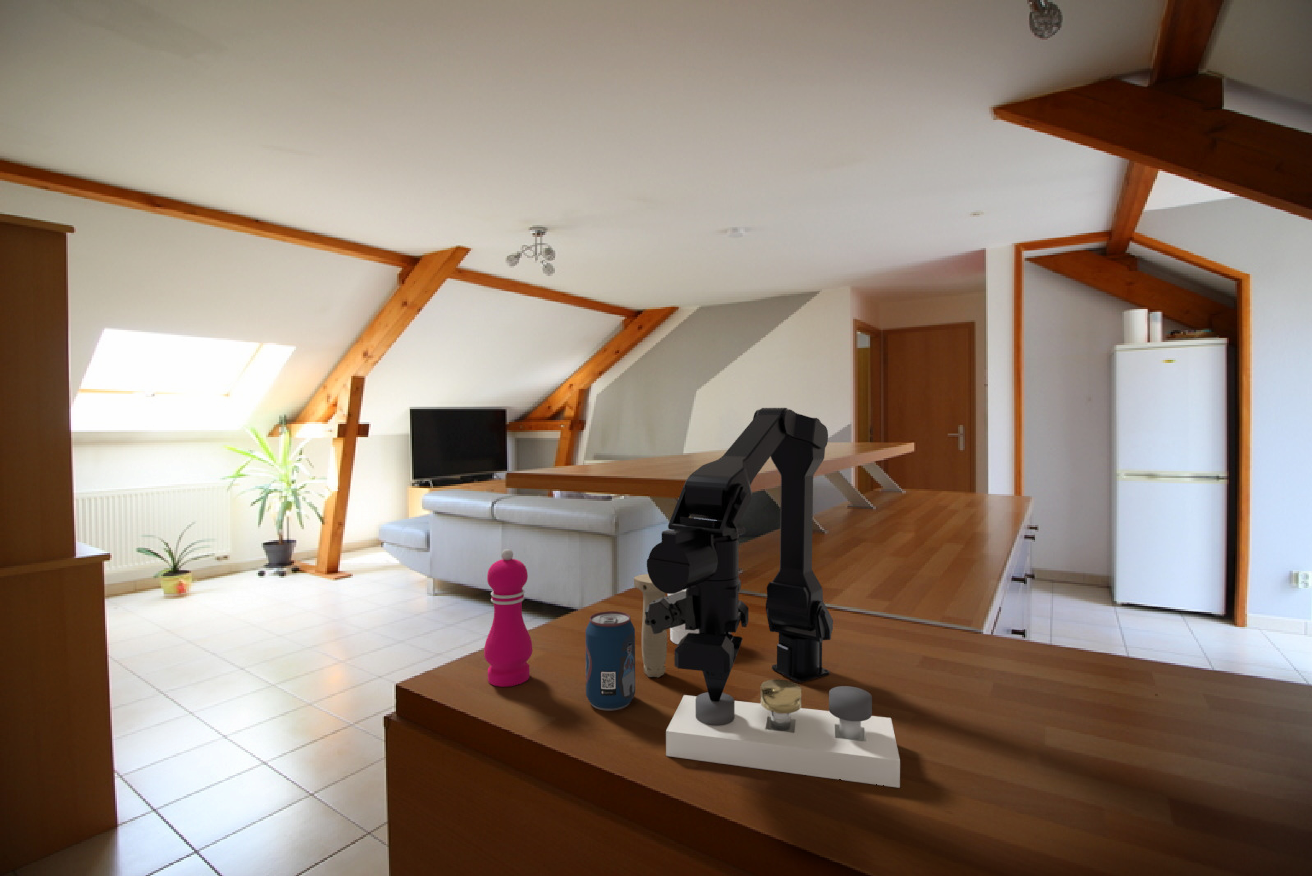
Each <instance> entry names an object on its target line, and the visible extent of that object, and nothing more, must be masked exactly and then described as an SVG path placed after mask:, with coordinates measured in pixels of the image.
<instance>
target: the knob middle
mask: <svg viewBox="0 0 1312 876" xmlns="http://www.w3.org/2000/svg"><path fill="white" fill-rule="evenodd" d="M760 704H761V705H762V707H764V708H765V709H767V710H769V711H771V727H772V728H773V729H775V730H778V731H787V730H789V729H790V728H791V713H792V712H796V711H798V710H799V709H800V708H802V687H801V686H800V685H799V684H797V683H796V682H793V681H791V680H786V679H781V678H779V679H777V678H776V679H769V680H765V681H763V682H761V684H760Z"/></svg>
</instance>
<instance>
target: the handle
mask: <svg viewBox="0 0 1312 876" xmlns="http://www.w3.org/2000/svg"><path fill="white" fill-rule="evenodd" d="M633 586H634V588H636V589H638V590H639V591H641V592H642V599H643V602H642V603H643V604H642V619H641V620H642V624H641V655H642V657H641V658H642V662H643V673H644V674H645V675H646V676H647V677H648V678H660V677H661V676H664V675H665V673H666V665H665V664H666V660H667V651H668V650H667V649H668V633H667V632H668V631H667V630H668V629H666V630H663V631H662V632H661V633H658V634H654V633H653V631H652V628H651V626H650V625H649V626H648V625H646V624H645V619H646V614H645V609H646V608H647V607H648V606H649V604H650V603H651V602H652V601H654V600H657V599H660V598H663V597H666V594H667V593H664V592H662V591H660V590H659V589H658V588H656V587H655V585H654V584H653V583H652V581H651V579H650V577H649V575H648V573H643V574H639V575H636V576H634V577H633Z"/></svg>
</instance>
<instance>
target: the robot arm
mask: <svg viewBox="0 0 1312 876" xmlns="http://www.w3.org/2000/svg"><path fill="white" fill-rule="evenodd" d="M828 432H829V431H828V428H827V426H826V425H825V424H824V423H823V422H821V420H820V418H818V417H810V416H807V415H804V414H800V413H798V412H795V411H794V410H793V409H789V408H787V407H761V408H759V409H757V410H756V411H755V412H754V414H753V417H752V420H751V422H750V423H749V424H748V425H746V428H745V429H744V430H743V431H742V432H741V434H740V435H739V436H738V437H737V438H736V439H735V440H734V441H733V443H732V444H731V445H730V447H729V448H728V449H727V450H726V452H724V453H723V455H722V456H721V457H720V458H718V459H716V460H713V461H711V462H707V463H705V464H703V465H701V466H700V467H699V468H697V469H696V470H694V471H693V472H692V473H691V474H689V476H688V477H687V479H686V480H685V482H684V484H683V486H682V489H681V490H680V491H681V492H680V494H679V496H678V498H677V502H676V504H675V507H674V510H673V511H672V514H671V517H670V520H669V522H668V525H667V528H668V529H667V530H666V529H665V530H662V532H661V542H659V543H656V544H655V546H653V547H652V549H651V550H650V553H649V554H648V558H647V559H646V569H647V570H646V572H647V574H648V575H649V577H650V579H651V581H652V583H653V584H654V585H655V587H656V588H658V589H659V590H660V591H662V592H664V593H666V594H667V596H666V595H665V597H663V598H660V599H657V600H654V601H652V602H651V603H650V604H649V606H648V607H647V608H646V609H645V614H646V619H645V624H646V625H648V626H649V625H650V626H651V628H652V631H653V633H654V634H658V633H661V632H662V631H663V630H670V628H673V627H677V626H680V625H683V624H685V630H696V629H699V633H688V634H687V635H686V636H685V637H684V638H682V639H681V641H680V642H679V644H676V647H675V649H674V667H675V668H677V669H679V670H688V671H689V670H690V671H691V670H692V671H701V672H702V674H703V678H704V682H705V687H706V689H707V692H708V694H709V697H710V700H711V701H716V702H718V701H719V700H720V698H721V695H722V693H724V689H725V687H726V684H727V682H728V679H729V677H730V674H731V671H732V669H733V666H734V664H735V661H736V659H737V655H738V653H739V650H740V647H741V644H742V643H743V637H742V636H736V635H733V634H732V633H736V632H737V630H738V628H739V625H740V624H741V625H740V626H741V627H742V628H747V626H748V623H749V607H748V606H747V605H746V604H745V602H744V601H743V600H739V592H740V591H741V587H742V586H741V585H742V582H741V581H742V580H741V579H739V536H742V535H744V534H745V533H746V528H745V527H744V526H743V524H741V523H740V521H741V520H742V518H743V517H744V515H745V514H746V511H747V510H748V508H749V505H750V503H751V501H752V499H753V492H752V487H751V485H752V483H753V481H754V480H755V478H756V477H757V475H758V474H759V472H760V471H761V470H762V468H763V467H764V466H765V464H766V463H767V461H769V459H771V461H772V463H773V464H774V466H775V467H776V470H777V472H778V473H779V475H780V524H779V525H780V526H779V527H780V528H779V529H780V530H779V533H780V535H779V536H780V537H779V570H778V572H777V573H776V575H775V576H774V578H773V580H772V581H769V582H768V583H767V586H766V600H765V613H766V618H767V625H768V628H769V629H768V630H769V632H770V633H778V643H777V644H776V664H772V665H771V670H772V671H775V672H778V673H779V674H781V675H783V676H785V677H786V678H788V679H791V680H793V681H795V683H796V682H797V683H804V682H808V681H811V680H813V679H814V680H815V679H818V678H822V677H825V676H828V675H830V670H828V669H827V668H824V667H823V642H824V641H830V640H832V633H833V630H834V629H833V628H834V627H833V626H834V625H833V624H834V620H833V618H832V615H831V614H830V612H829V610H828V608H827V606H826V604H825V602H824V593H823V587H822V584H821V583H820V581H819V580H818V578H817V576H816V574H815V572H814V571H813V516H814V515H813V514H814V513H813V512H814V511H813V510H814V508H813V507H814V506H813V504H814V502H813V501H814V475H815V473H816V472H817V471H818V469H819V467H820V466H821V464H822V463H823V462H824V459H825V456H826V455H825V454H826V453H825V452H826V447H827V445H828V441H829V433H828ZM685 589H686V591H684V592H680V591H682V590H685ZM677 592H680V593H677ZM675 593H676V594H675ZM668 594H673V595H670V596H668Z"/></svg>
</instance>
